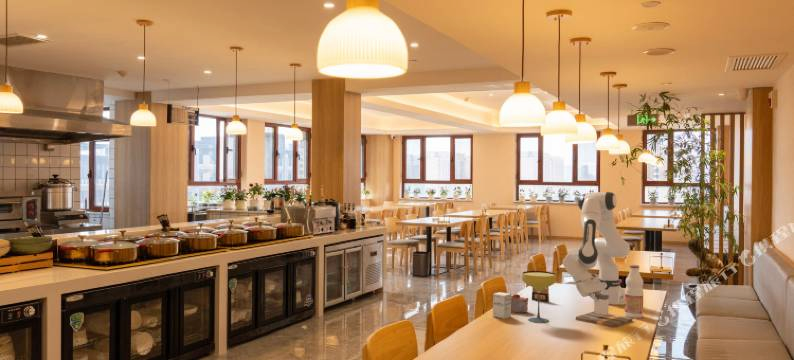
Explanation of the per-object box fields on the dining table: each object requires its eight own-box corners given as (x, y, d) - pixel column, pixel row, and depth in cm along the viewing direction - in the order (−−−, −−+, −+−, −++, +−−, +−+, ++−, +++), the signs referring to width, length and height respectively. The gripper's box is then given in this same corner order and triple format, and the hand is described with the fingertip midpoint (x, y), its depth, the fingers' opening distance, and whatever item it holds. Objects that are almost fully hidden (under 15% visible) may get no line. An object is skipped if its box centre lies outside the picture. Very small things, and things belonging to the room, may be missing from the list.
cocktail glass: (536, 326, 317) (537, 277, 317) (514, 318, 333) (514, 272, 333) (563, 322, 325) (564, 275, 325) (540, 315, 341) (541, 270, 341)
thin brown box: (549, 301, 377) (549, 282, 377) (547, 302, 376) (548, 282, 376) (532, 299, 384) (533, 280, 384) (531, 299, 382) (531, 280, 382)
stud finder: (597, 311, 336) (598, 293, 336) (608, 313, 331) (608, 295, 331) (594, 312, 333) (594, 294, 333) (604, 314, 329) (604, 296, 328)
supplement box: (492, 316, 337) (492, 293, 336) (499, 314, 342) (500, 291, 342) (503, 319, 332) (504, 295, 331) (511, 316, 337) (511, 293, 337)
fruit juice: (632, 318, 336) (633, 267, 336) (621, 314, 345) (621, 264, 344) (646, 317, 339) (647, 266, 339) (634, 313, 348) (635, 263, 348)
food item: (529, 311, 351) (529, 294, 351) (526, 314, 343) (526, 296, 343) (505, 309, 356) (506, 291, 356) (502, 311, 349) (502, 294, 349)
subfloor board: (594, 313, 346) (594, 311, 346) (632, 321, 330) (632, 318, 330) (575, 319, 332) (575, 316, 332) (614, 327, 316) (614, 324, 316)
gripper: (577, 278, 331) (594, 299, 324) (597, 274, 345) (613, 294, 338) (570, 285, 334) (586, 306, 327) (589, 281, 348) (605, 301, 341)
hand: (600, 300), depth 333 cm, fingers closed on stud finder, 4 cm apart
